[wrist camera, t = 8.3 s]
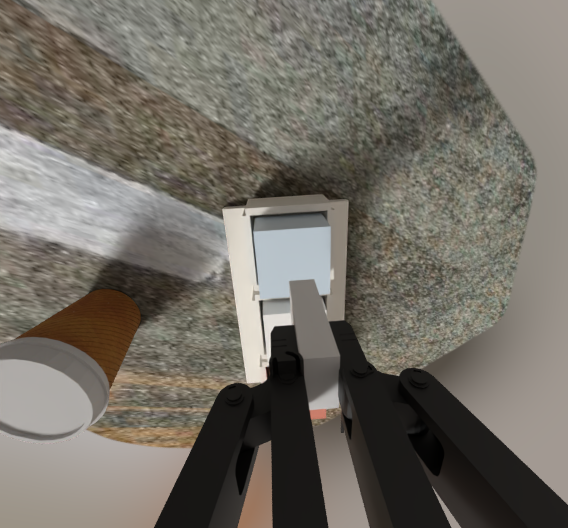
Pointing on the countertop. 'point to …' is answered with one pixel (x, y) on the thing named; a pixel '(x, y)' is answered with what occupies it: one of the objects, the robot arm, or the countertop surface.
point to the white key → (277, 317)
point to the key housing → (246, 275)
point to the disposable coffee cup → (65, 368)
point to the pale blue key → (292, 252)
